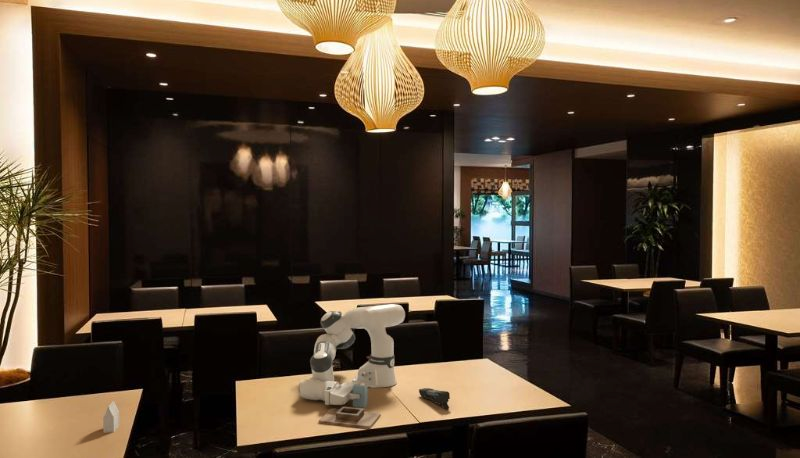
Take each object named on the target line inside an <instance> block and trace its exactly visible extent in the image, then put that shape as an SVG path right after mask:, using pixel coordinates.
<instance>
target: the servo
mask: <svg viewBox="0 0 800 458" xmlns="http://www.w3.org/2000/svg"><path fill="white" fill-rule="evenodd" d="M357 393H358V394H360V396H361V397H360V398H359V399H352V407H354V408H363V409H365V408H366V407H367V406H368V387H367V385H366V384H365V383H361V384H354V385H353V394H357Z"/></svg>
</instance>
